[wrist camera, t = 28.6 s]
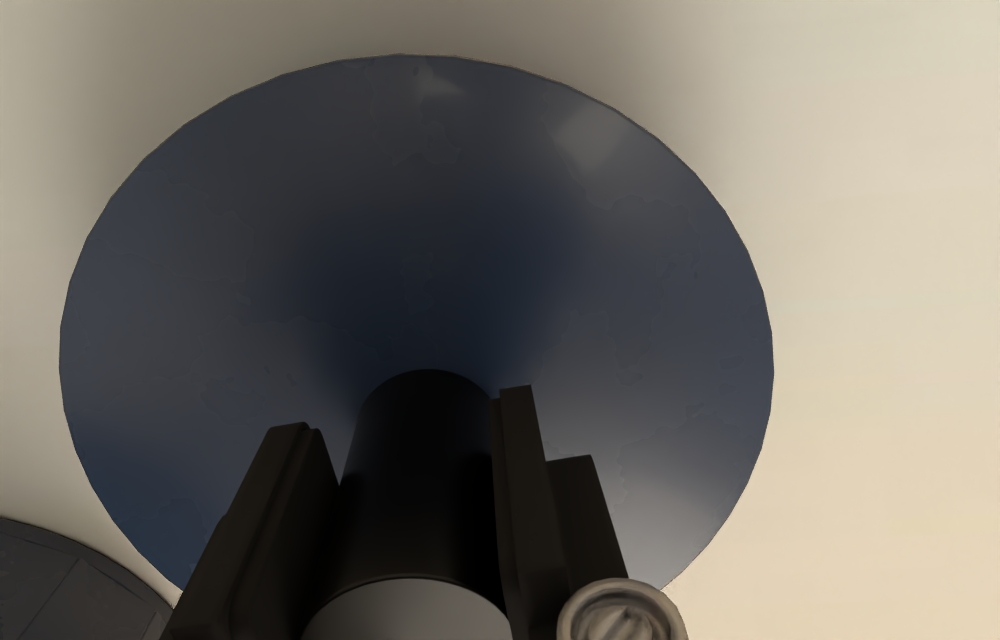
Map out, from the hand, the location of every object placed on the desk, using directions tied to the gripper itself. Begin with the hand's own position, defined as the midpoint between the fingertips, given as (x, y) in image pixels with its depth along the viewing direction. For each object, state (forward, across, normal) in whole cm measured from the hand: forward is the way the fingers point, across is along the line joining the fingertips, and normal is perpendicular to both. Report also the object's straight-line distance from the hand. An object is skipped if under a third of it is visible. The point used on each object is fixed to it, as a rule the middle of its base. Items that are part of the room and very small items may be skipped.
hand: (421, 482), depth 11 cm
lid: (+2, 0, 0) cm, 2 cm away
